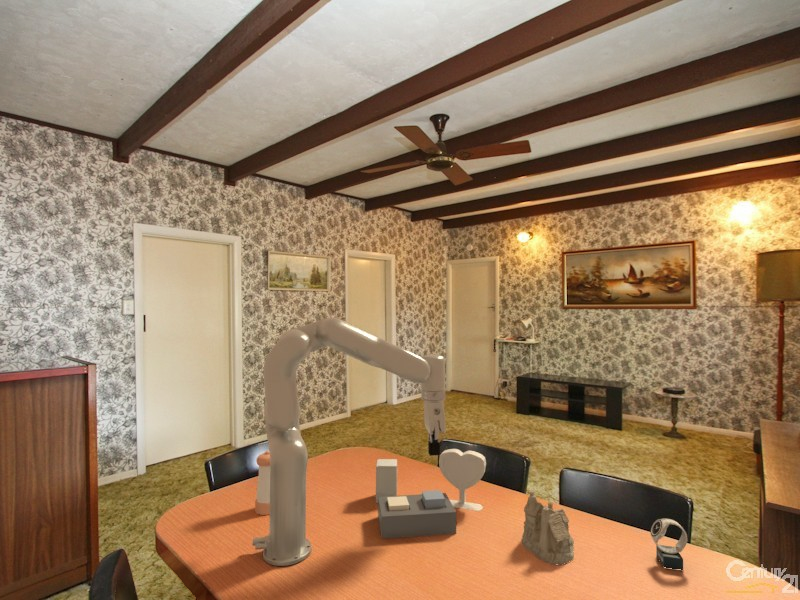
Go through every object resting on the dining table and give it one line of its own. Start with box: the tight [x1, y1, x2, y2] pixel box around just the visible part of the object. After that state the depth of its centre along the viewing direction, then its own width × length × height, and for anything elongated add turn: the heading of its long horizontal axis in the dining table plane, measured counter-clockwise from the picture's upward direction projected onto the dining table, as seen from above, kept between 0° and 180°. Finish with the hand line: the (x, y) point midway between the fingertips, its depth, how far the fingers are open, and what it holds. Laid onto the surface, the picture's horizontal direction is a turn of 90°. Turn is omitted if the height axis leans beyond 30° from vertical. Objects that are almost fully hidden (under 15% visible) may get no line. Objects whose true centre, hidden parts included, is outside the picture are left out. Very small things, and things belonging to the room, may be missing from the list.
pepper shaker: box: [254, 450, 270, 516], centre depth 137 cm, size 7×7×19 cm
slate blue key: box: [421, 489, 445, 509], centre depth 128 cm, size 6×6×5 cm
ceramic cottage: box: [521, 490, 575, 566], centre depth 117 cm, size 16×16×15 cm
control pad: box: [377, 492, 457, 540], centre depth 127 cm, size 22×13×6 cm, turn 98°
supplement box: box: [375, 458, 398, 504], centre depth 145 cm, size 7×7×13 cm
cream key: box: [387, 495, 409, 511], centre depth 127 cm, size 6×6×5 cm
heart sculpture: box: [438, 448, 487, 512], centre depth 141 cm, size 16×5×18 cm, turn 70°
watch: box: [650, 518, 688, 571], centre depth 108 cm, size 6×8×11 cm
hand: (434, 454), depth 129 cm, fingers closed
